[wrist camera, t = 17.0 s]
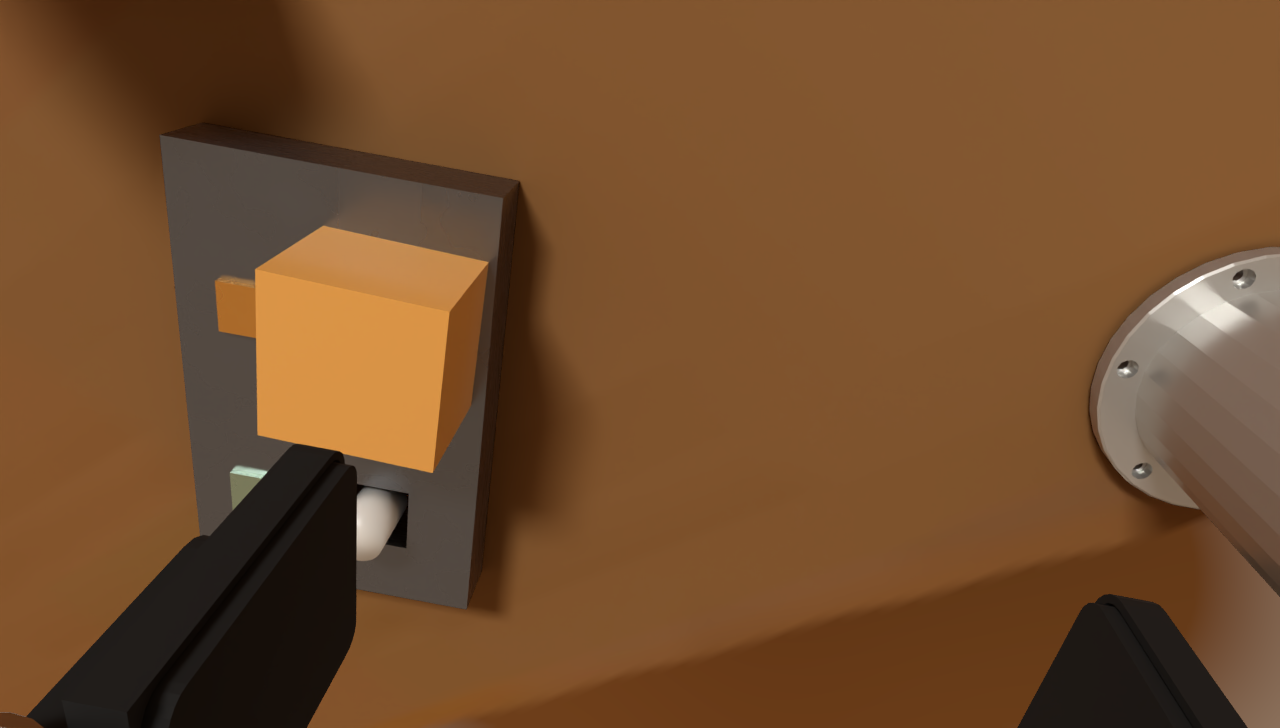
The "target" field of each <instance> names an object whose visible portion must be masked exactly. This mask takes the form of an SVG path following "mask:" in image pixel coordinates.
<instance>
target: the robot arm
mask: <svg viewBox="0 0 1280 728" xmlns="http://www.w3.org/2000/svg"><path fill="white" fill-rule="evenodd" d="M1089 411H1090V417H1091V423H1092V429H1093V433H1094V435H1095V437H1096V439H1097V442H1098V444H1099V446H1100V448H1101V451H1102V452H1103V453H1104V455H1105V456H1106V457H1107V459H1108V460H1109V461H1110V463H1111V464H1112V465H1113V467H1114V468H1115V469H1116V470H1117V471H1118V472H1119V473H1120V474H1121V476H1122V477H1123V478H1124V479H1125V480H1126V481H1127V482H1129V483H1130V484H1131V485H1133V486H1134V487H1136V488H1138V489H1139V490H1141V491H1142V492H1144V493H1146V494H1147V495H1149V496H1151V497H1153V498H1156V499H1159V500H1161V501H1164V502H1167V503H1169V504H1172V505H1177V506H1183V507H1188V508H1193V509H1201V511H1202V512H1203V513H1204V514H1205V515H1206V516H1207V517H1208V518H1209V519H1210V520H1211V522H1212V523H1213V524H1214V525H1215V526H1216V527H1217V528H1218V529H1219V530H1220V531H1221V533H1222V534H1223V535H1224V536H1225V537H1226V538H1227V539H1228V540H1229V541H1230V542H1231V544H1232V545H1233V546H1234V547H1235V548H1236V549H1237V550H1238V551H1239V552H1240V554H1241V555H1242V556H1243V557H1244V558H1245V559H1246V560H1247V561H1248V562H1249V563H1250V564H1251V566H1252V567H1253V568H1254V569H1255V570H1256V571H1257V572H1258V573H1259V574H1260V576H1261V577H1262V578H1263V579H1264V580H1265V581H1266V582H1267V583H1268V584H1269V585H1270V586H1271V588H1272V589H1273V590H1274V591H1275V592H1276V593H1277V594H1278V595H1279V596H1280V247H1267V248H1261V249H1255V250H1249V251H1243V252H1238V253H1235V254H1232V255H1228V256H1225V257H1222V258H1219V259H1216V260H1213V261H1210V262H1207V263H1205V264H1203V265H1201V266H1199V267H1197V268H1195V269H1193V270H1191V271H1189V272H1187V273H1185V274H1183V275H1181V276H1179V277H1177V278H1175V279H1174V280H1172V281H1171V282H1170V283H1168V284H1167V285H1165V286H1164V287H1162V288H1161V289H1159V290H1158V291H1157V292H1155V293H1154V294H1152V295H1151V296H1150V297H1149V298H1148V299H1146V300H1145V301H1144V302H1143V303H1142V304H1141V305H1140V306H1139V307H1138V308H1137V309H1136V310H1135V311H1134V312H1133V313H1132V314H1131V315H1129V316H1128V318H1127V319H1126V320H1125V321H1124V323H1123V324H1122V325H1121V327H1120V328H1119V329H1118V331H1117V332H1116V333H1115V334H1114V336H1113V337H1112V338H1111V340H1110V342H1109V343H1108V345H1107V347H1106V349H1105V351H1104V353H1103V355H1102V357H1101V359H1100V361H1099V362H1098V365H1097V369H1096V372H1095V375H1094V379H1093V382H1092V385H1091V394H1090V408H1089ZM356 564H357V470H356V468H355V466H353V465H348V464H345V459H344V456H343V453H341V452H340V451H336V450H330V449H325V448H319V447H314V446H309V445H303V444H293V445H292V446H291V447H290V448H289V449H288V450H287V451H286V452H285V453H284V454H283V455H282V456H281V457H280V459H279V460H278V461H277V462H276V463H275V464H274V465H273V466H272V467H271V469H270V470H269V471H268V472H267V473H266V474H265V475H264V476H263V477H262V479H261V480H260V481H259V482H258V483H257V484H256V485H255V486H254V487H253V489H252V490H251V491H250V492H249V493H248V494H247V495H246V496H245V497H244V499H243V500H242V501H241V502H240V503H239V504H238V505H237V506H236V507H235V509H234V510H233V511H232V512H231V513H230V514H229V515H228V516H227V517H226V519H225V520H224V521H223V522H222V523H221V524H220V525H219V526H218V527H217V529H216V530H215V531H214V532H213V533H212V534H211V535H210V536H207V535H202V536H199V537H196V538H194V539H193V540H191V541H190V542H189V543H188V544H187V545H186V546H184V547H183V548H182V550H181V551H180V552H179V553H178V554H177V555H176V556H175V557H174V558H173V559H172V560H171V561H170V562H169V564H168V565H167V566H166V567H165V568H164V569H163V570H162V571H161V572H160V573H159V574H158V575H157V576H156V578H155V579H154V580H153V581H152V582H151V583H150V584H149V585H148V586H147V587H146V588H145V589H144V590H143V592H142V593H141V594H140V595H139V596H138V597H137V598H136V599H135V600H134V601H133V602H132V603H131V604H130V606H129V607H128V608H127V609H126V610H125V611H124V612H123V613H122V614H121V615H120V616H119V617H118V618H117V620H116V621H115V622H114V623H113V624H112V625H111V626H110V627H109V628H108V629H107V630H106V631H105V632H104V634H103V635H102V636H101V637H100V638H99V639H98V640H97V641H96V642H95V643H94V644H93V645H92V646H91V648H90V649H89V650H88V651H87V652H86V653H85V654H84V655H83V656H82V657H81V658H80V659H79V660H78V661H77V663H76V664H75V665H74V666H73V667H72V668H71V669H70V670H69V671H68V672H67V673H66V674H65V675H64V677H63V678H62V679H61V680H60V681H59V682H58V683H57V684H56V685H55V686H54V687H53V688H52V689H51V691H50V692H49V693H48V694H47V695H46V696H45V697H44V698H43V699H42V700H41V701H40V702H39V703H38V705H37V706H36V707H35V708H34V709H33V710H32V711H31V712H30V713H29V714H28V715H27V716H26V717H24V716H21V715H17V714H14V713H0V728H307V726H308V724H309V722H310V721H311V719H312V717H313V715H314V713H315V711H316V710H317V708H318V706H319V704H320V702H321V700H322V698H323V697H324V695H325V693H326V691H327V689H328V687H329V686H330V684H331V682H332V680H333V678H334V676H335V675H336V673H337V671H338V669H339V667H340V665H341V663H342V662H343V660H344V658H345V656H346V654H347V652H348V650H349V648H350V645H351V643H352V640H353V636H354V632H355V627H356ZM1018 728H1247V726H1246V725H1245V723H1244V722H1243V720H1242V719H1241V718H1240V716H1239V715H1238V713H1237V712H1236V711H1235V710H1234V708H1233V706H1232V705H1231V704H1230V702H1229V701H1228V699H1227V698H1226V696H1225V695H1224V694H1223V692H1222V691H1221V690H1220V688H1219V687H1218V685H1217V684H1216V683H1215V681H1214V680H1213V678H1212V677H1211V675H1210V674H1209V673H1208V671H1207V670H1206V668H1205V667H1204V665H1203V664H1202V663H1201V661H1200V660H1199V658H1198V657H1197V656H1196V654H1195V653H1194V651H1193V650H1192V648H1191V647H1190V646H1189V644H1188V643H1187V641H1186V640H1185V639H1184V637H1183V636H1182V634H1181V633H1180V632H1179V630H1178V629H1177V627H1176V626H1175V624H1174V623H1173V622H1172V620H1171V619H1170V618H1169V616H1168V615H1167V613H1166V612H1165V611H1164V610H1163V609H1162V608H1161V606H1160V605H1158V604H1156V603H1153V602H1149V601H1144V600H1138V599H1133V598H1128V597H1123V596H1117V595H1112V594H1108V595H1103V596H1102V597H1100V598H1098V600H1097V601H1096V602H1095V603H1088V604H1087V605H1085V606H1084V607H1083V608H1082V610H1081V611H1080V613H1079V615H1078V617H1077V619H1076V620H1075V622H1074V624H1073V626H1072V628H1071V630H1070V632H1069V633H1068V635H1067V637H1066V639H1065V641H1064V643H1063V645H1062V647H1061V648H1060V650H1059V652H1058V654H1057V656H1056V657H1055V660H1054V661H1053V663H1052V665H1051V667H1050V669H1049V670H1048V672H1047V674H1046V676H1045V678H1044V680H1043V682H1042V683H1041V685H1040V687H1039V689H1038V691H1037V693H1036V694H1035V696H1034V698H1033V700H1032V702H1031V704H1030V706H1029V707H1028V709H1027V711H1026V713H1025V715H1024V717H1023V719H1022V720H1021V723H1020V724H1019V726H1018Z"/></svg>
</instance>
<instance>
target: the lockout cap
mask: <svg viewBox="0 0 1280 728" xmlns="http://www.w3.org/2000/svg"><path fill="white" fill-rule="evenodd" d="M488 264H489V262H486V261H481V260H477V259H472V258H468V257H463V256H459V255H454V254H449V253H445V252H440V251H436V250H431V249H427V248H422V247H418V246H413V245H409V244H404V243H400V242H395V241H390V240H386V239H381V238H377V237H372V236H368V235H363V234H359V233H354V232H350V231H345V230H341V229H336V228H331V227H327V226H322V227H320V228H319V229H317V230H316V231H314V232H313V233H311V234H309V235H308V236H306V237H305V238H303V239H302V240H300V241H298V242H297V243H295V244H294V245H292V246H291V247H289V248H288V249H286V250H284V251H283V252H281V253H280V254H278V255H277V256H275V257H273V258H272V259H270V260H269V261H267V262H266V263H264V264H262V265H261V266H259V267H258V268H256V269H255V295H256V363H257V431H258V435H259V436H264V437H269V438H273V439H278V440H282V441H287V442H292V443H296V444H303V445H309V446H314V447H319V448H325V449H330V450H336V451H340V452H341V453H343V454H347V455H352V456H356V457H361V458H365V459H370V460H375V461H379V462H384V463H389V464H393V465H398V466H402V467H407V468H412V469H416V470H421V471H425V472H430V473H433V472H434V470H435V468H436V467H437V465H438V463H439V461H440V460H441V458H442V456H443V454H444V453H445V451H446V449H447V447H448V446H449V444H450V442H451V440H452V438H453V437H454V435H455V433H456V431H457V430H458V428H459V426H460V424H461V423H462V421H463V419H464V417H465V416H466V414H467V412H468V410H469V408H470V407H471V402H472V394H473V386H474V377H475V369H476V361H477V353H478V345H479V337H480V329H481V321H482V312H483V304H484V296H485V288H486V280H487V272H488Z"/></svg>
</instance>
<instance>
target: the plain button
mask: <svg viewBox="0 0 1280 728" xmlns="http://www.w3.org/2000/svg"><path fill="white" fill-rule="evenodd" d="M406 507H407V497H406V494H405V493H403V492H398V491H393V490H387V489H382V488H376V487H371V486H366V485H364V486H363V488H362V489H361V491H360V492H359V494H358V495H357V560H358V561H368V560H372V559H374V558H376V557H377V556H378V555H379V554H380V553H381V551H382V549H383V548H384V546H385V544H386V542H387V541H388V539H389V537H390V535H391V534H392V532H393V530H394V529H395V527H396V525H397V523H398V522H399V520H400V518H401V516H402V515H403V513H404V511H405V509H406Z"/></svg>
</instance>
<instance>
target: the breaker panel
mask: <svg viewBox="0 0 1280 728" xmlns="http://www.w3.org/2000/svg"><path fill="white" fill-rule="evenodd" d="M160 144H161V154H162V164H163V173H164V183H165V193H166V203H167V213H168V223H169V232H170V242H171V252H172V262H173V272H174V282H175V292H176V301H177V311H178V321H179V331H180V341H181V351H182V361H183V370H184V380H185V390H186V400H187V410H188V420H189V430H190V439H191V449H192V459H193V469H194V479H195V489H196V499H197V508H198V518H199V528H200V536H202V535H207V536H210V535H211V534H212V533H213V532H214V531H215V530H216V529H217V527H218V526H219V525H220V524H221V523H222V522H223V521H224V520H225V519H226V517H227V516H228V515H229V514H230V513H231V512H232V511H233V510H234V509H235V507H236V506H237V505H238V504H239V503H240V502H241V501H242V500H243V499H244V497H245V496H246V495H247V494H248V493H249V492H250V491H251V490H252V489H253V487H254V486H255V485H256V484H257V483H258V482H259V481H260V480H261V479H262V477H263V476H264V475H265V474H266V473H267V472H268V471H269V470H270V469H271V467H272V466H273V465H274V464H275V463H276V462H277V461H278V460H279V459H280V457H281V456H282V455H283V454H284V453H285V452H286V451H287V450H288V449H289V448H290V447H291V446H292V445H293V444H296V443H292V442H287V441H282V440H278V439H273V438H269V437H264V436H259V435H258V431H257V363H256V295H255V269H256V268H258V267H259V266H261V265H262V264H264V263H266V262H267V261H269V260H270V259H272V258H273V257H275V256H277V255H278V254H280V253H281V252H283V251H284V250H286V249H288V248H289V247H291V246H292V245H294V244H295V243H297V242H298V241H300V240H302V239H303V238H305V237H306V236H308V235H309V234H311V233H313V232H314V231H316V230H317V229H319V228H320V227H322V226H327V227H331V228H336V229H341V230H345V231H350V232H354V233H359V234H363V235H368V236H372V237H377V238H381V239H386V240H390V241H395V242H400V243H404V244H409V245H413V246H418V247H422V248H427V249H431V250H436V251H440V252H445V253H449V254H454V255H459V256H463V257H468V258H472V259H477V260H481V261H486V262H489V264H488V272H487V280H486V288H485V296H484V304H483V312H482V321H481V329H480V337H479V345H478V353H477V361H476V369H475V377H474V386H473V394H472V402H471V407H470V408H469V410H468V412H467V414H466V416H465V417H464V419H463V421H462V423H461V424H460V426H459V428H458V430H457V431H456V433H455V435H454V437H453V438H452V440H451V442H450V444H449V446H448V447H447V449H446V451H445V453H444V454H443V456H442V458H441V460H440V461H439V463H438V465H437V467H436V468H435V470H434V472H433V473H430V472H425V471H421V470H416V469H412V468H407V467H402V466H398V465H393V464H389V463H384V462H379V461H375V460H370V459H365V458H361V457H356V456H352V455H347V454H343V456H344V459H345V464H348V465H353V466H355V468H356V470H357V495H358V494H359V492H360V491H361V489H362V488H363V486H364V485H366V486H371V487H376V488H382V489H387V490H393V491H398V492H403V493H409V500H408V509H405V511H404V513H403V515H402V516H401V518H400V520H399V522H398V523H397V525H396V527H395V529H394V530H393V532H392V534H391V535H390V537H389V539H388V541H387V542H386V544H385V546H384V548H383V549H382V551H381V553H380V554H379V555H378V556H377V557H376V558H374V559H372V560H368V561H358V560H357V564H356V589H359V590H365V591H370V592H375V593H381V594H386V595H392V596H397V597H402V598H408V599H413V600H418V601H424V602H429V603H435V604H440V605H445V606H451V607H456V608H461V609H467V607H468V605H469V602H470V599H471V597H472V594H473V592H474V589H475V587H476V584H477V582H478V579H479V577H480V574H481V571H482V562H483V551H484V541H485V531H486V520H487V510H488V500H489V490H490V479H491V469H492V459H493V448H494V438H495V428H496V417H497V407H498V397H499V386H500V376H501V366H502V355H503V345H504V335H505V324H506V314H507V304H508V293H509V283H510V273H511V262H512V252H513V242H514V232H515V221H516V211H517V201H518V190H519V181H517V180H512V179H506V178H501V177H495V176H490V175H484V174H479V173H474V172H468V171H463V170H457V169H452V168H446V167H441V166H436V165H430V164H425V163H419V162H414V161H408V160H403V159H398V158H392V157H387V156H381V155H376V154H370V153H365V152H359V151H354V150H349V149H343V148H338V147H332V146H327V145H321V144H316V143H311V142H305V141H300V140H294V139H289V138H283V137H278V136H273V135H267V134H262V133H256V132H251V131H245V130H240V129H235V128H229V127H224V126H218V125H213V124H207V123H199V124H196V125H192V126H189V127H185V128H182V129H178V130H175V131H171V132H168V133H164V134H161V135H160Z"/></svg>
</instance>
